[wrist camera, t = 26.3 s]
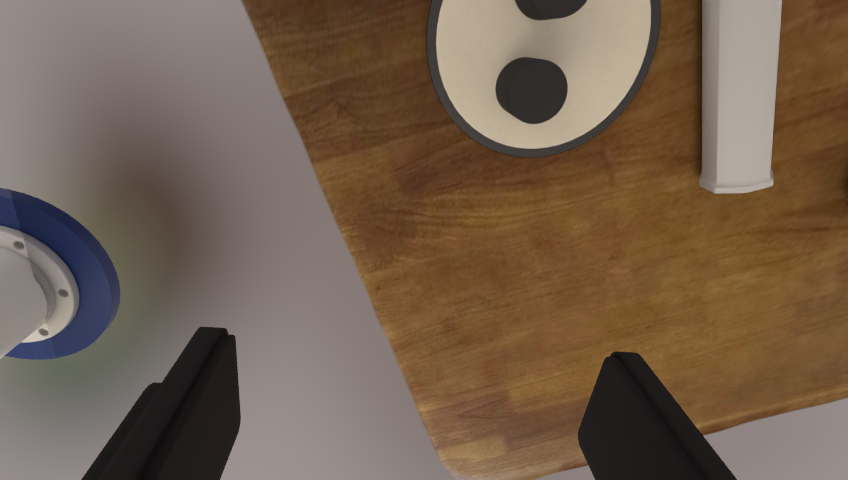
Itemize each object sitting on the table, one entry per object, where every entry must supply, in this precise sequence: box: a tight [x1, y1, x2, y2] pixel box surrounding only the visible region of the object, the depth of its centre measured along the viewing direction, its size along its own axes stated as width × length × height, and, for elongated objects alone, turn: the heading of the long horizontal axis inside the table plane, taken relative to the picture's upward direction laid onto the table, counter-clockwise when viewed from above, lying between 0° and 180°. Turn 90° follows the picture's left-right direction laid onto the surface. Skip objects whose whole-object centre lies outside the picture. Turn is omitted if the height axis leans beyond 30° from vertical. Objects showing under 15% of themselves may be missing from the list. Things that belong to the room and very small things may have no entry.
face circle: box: [426, 0, 660, 157], centre depth 34 cm, size 18×18×1 cm
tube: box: [699, 0, 782, 194], centre depth 32 cm, size 5×5×25 cm
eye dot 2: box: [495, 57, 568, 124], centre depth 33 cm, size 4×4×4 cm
